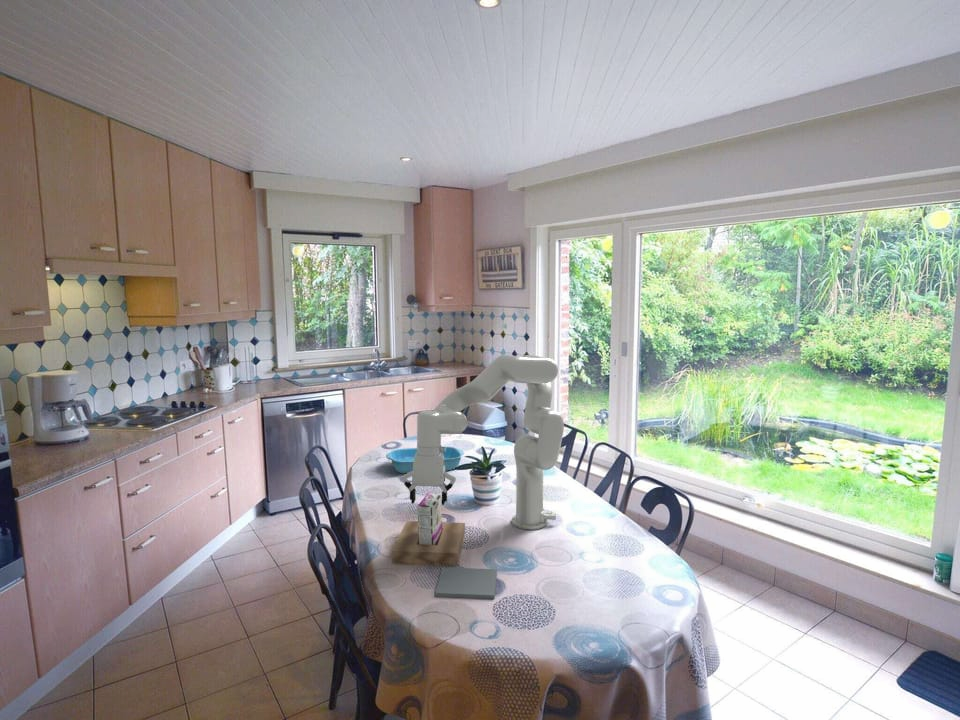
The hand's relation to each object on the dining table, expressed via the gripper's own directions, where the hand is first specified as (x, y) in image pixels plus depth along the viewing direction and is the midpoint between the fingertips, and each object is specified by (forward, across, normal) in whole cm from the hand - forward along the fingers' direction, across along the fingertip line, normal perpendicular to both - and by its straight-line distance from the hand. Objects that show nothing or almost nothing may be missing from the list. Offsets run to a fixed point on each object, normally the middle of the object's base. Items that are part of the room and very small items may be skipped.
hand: (428, 502), depth 173 cm
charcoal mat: (+15, -15, +20) cm, 29 cm away
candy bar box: (+16, -1, 0) cm, 16 cm away
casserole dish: (+15, +15, -82) cm, 85 cm away
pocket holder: (+15, -1, 0) cm, 15 cm away
